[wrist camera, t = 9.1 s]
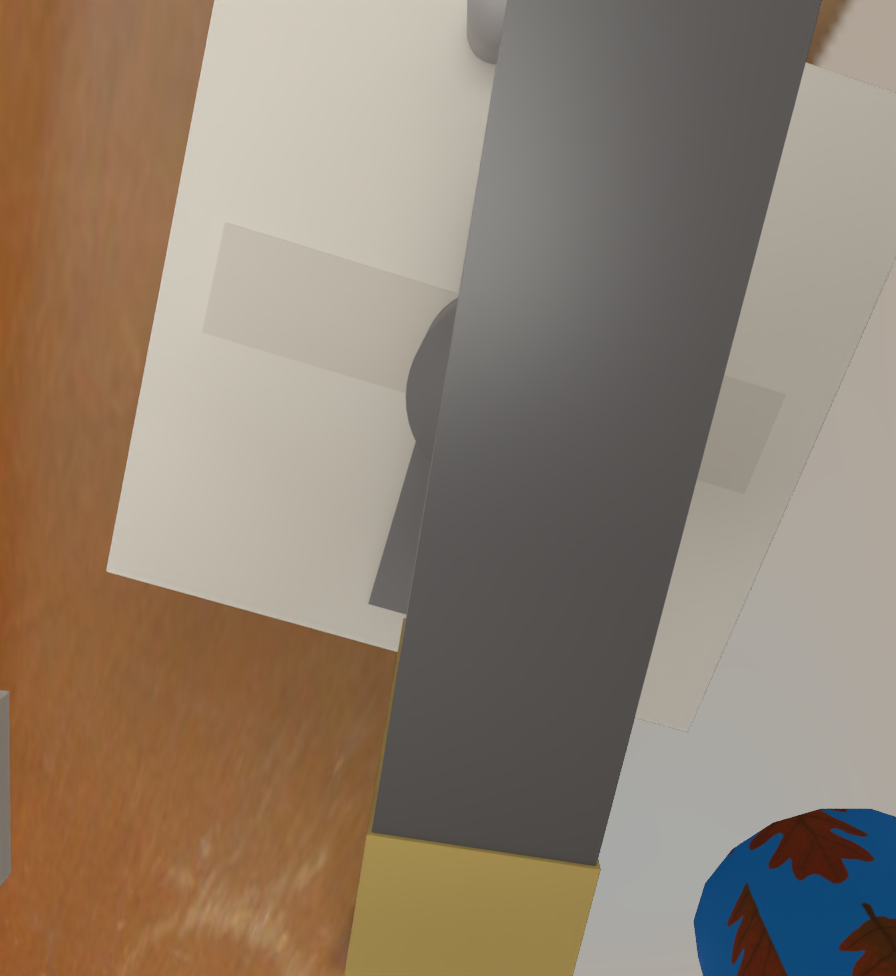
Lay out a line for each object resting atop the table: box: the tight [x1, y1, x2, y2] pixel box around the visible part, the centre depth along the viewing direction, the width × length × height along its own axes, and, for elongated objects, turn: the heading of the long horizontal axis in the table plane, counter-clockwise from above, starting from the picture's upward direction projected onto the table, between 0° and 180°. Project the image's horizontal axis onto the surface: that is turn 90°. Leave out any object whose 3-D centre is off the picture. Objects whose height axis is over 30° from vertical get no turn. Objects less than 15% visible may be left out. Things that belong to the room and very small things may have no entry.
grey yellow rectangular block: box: [344, 0, 822, 976], centre depth 13 cm, size 14×3×9 cm, turn 171°
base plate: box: [106, 0, 896, 732], centre depth 21 cm, size 20×20×8 cm
